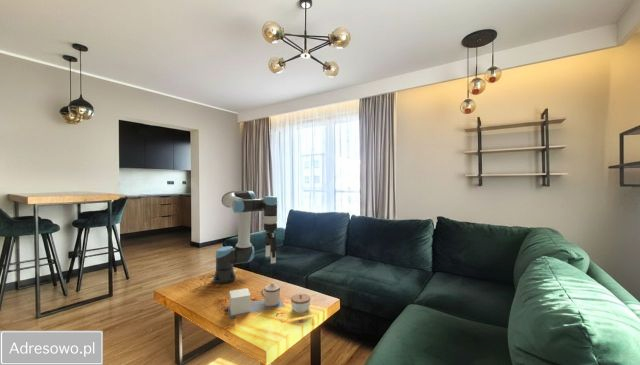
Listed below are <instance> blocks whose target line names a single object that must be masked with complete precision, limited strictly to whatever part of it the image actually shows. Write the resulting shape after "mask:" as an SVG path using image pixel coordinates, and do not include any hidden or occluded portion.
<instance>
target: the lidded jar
mask: <svg viewBox="0 0 640 365" xmlns="http://www.w3.org/2000/svg"><path fill="white" fill-rule="evenodd" d="M290 304H291V309H292V310H293V311H294V312H295V313H299V314H300V313H301V314H302V313H306V312H307V311H308V310H309V309H310V305H311V296H310V295H309V294H307V293H296V294H293V295H291V297H290Z"/></svg>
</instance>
